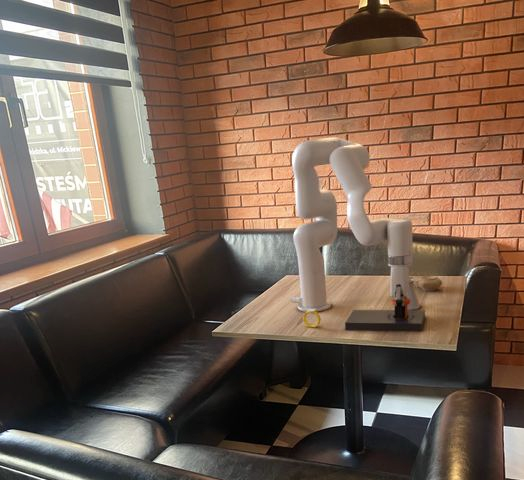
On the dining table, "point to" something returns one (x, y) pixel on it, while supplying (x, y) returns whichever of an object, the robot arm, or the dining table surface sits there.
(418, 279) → the oil lamp
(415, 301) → the flask
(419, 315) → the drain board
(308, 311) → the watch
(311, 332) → the dining table surface
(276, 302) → the dining table surface
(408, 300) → the stopper
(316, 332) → the dining table surface
